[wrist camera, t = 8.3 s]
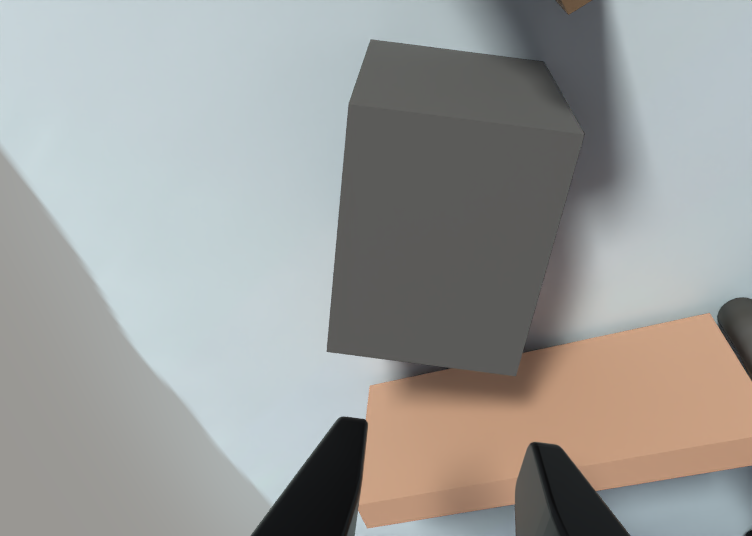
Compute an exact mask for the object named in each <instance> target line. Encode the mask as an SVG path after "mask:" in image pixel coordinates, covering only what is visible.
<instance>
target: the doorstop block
mask: <svg viewBox="0 0 752 536" xmlns="http://www.w3.org/2000/svg"><path fill="white" fill-rule="evenodd" d="M584 135H585V134H584V132H583V131H582V129H581V127H580V125H579V124H578V122H577V120H576V118H575V116H574V115H573V113H572V111H571V109H570V108H569V106H568V104H567V102H566V101H565V99H564V97H563V95H562V93H561V92H560V90H559V88H558V86H557V85H556V83H555V81H554V79H553V77H552V76H551V74H550V72H549V70H548V69H547V67H546V65H545V63H544V62H543V61H535V60H527V59H519V58H511V57H504V56H496V55H488V54H480V53H473V52H465V51H457V50H449V49H441V48H434V47H426V46H418V45H410V44H402V43H395V42H387V41H379V40H370V43H369V46H368V49H367V52H366V55H365V58H364V60H363V63H362V66H361V69H360V72H359V75H358V78H357V81H356V84H355V87H354V90H353V93H352V96H351V99H350V102H349V106H348V117H347V128H346V140H345V151H344V162H343V173H342V184H341V196H340V207H339V218H338V229H337V241H336V252H335V263H334V274H333V286H332V297H331V308H330V319H329V331H328V342H327V352H332V353H340V354H348V355H355V356H363V357H371V358H378V359H386V360H394V361H401V362H409V363H417V364H424V365H432V366H440V367H447V368H455V369H463V370H471V371H478V372H486V373H494V374H501V375H509V376H516V375H517V371H518V368H519V364H520V360H521V357H522V353H523V350H524V346H525V343H526V339H527V336H528V332H529V329H530V325H531V322H532V318H533V315H534V311H535V308H536V304H537V300H538V297H539V293H540V290H541V286H542V283H543V279H544V276H545V272H546V269H547V265H548V262H549V258H550V255H551V251H552V248H553V244H554V240H555V237H556V233H557V230H558V226H559V223H560V219H561V216H562V212H563V209H564V205H565V202H566V198H567V195H568V191H569V187H570V184H571V180H572V177H573V173H574V170H575V166H576V163H577V159H578V156H579V152H580V149H581V145H582V142H583V138H584Z"/></svg>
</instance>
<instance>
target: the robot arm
mask: <svg viewBox="0 0 752 536" xmlns="http://www.w3.org/2000/svg"><path fill="white" fill-rule="evenodd" d="M367 432H368V422H367V421H366V420H365V419H359V418H351V417H340V418H338V419H337V420H336V422H335V423H334V424H333V426H332V427H331V428H330V430H329V431H328V432H327V434H326V435H325V436H324V438H323V439H322V440H321V442H320V443H319V444H318V446H317V447H316V449H315V450H314V451H313V453H312V454H311V455H310V457H309V458H308V459H307V461H306V462H305V463H304V465H303V466H302V467H301V469H300V470H299V471H298V473H297V474H296V475H295V477H294V478H293V479H292V481H291V482H290V483H289V485H288V486H287V487H286V489H285V490H284V491H283V493H282V494H281V496H280V497H279V498H278V500H277V501H276V502H275V504H274V505H273V506H272V508H271V509H270V510H269V512H268V513H267V514H266V516H265V517H264V518H263V520H262V521H261V522H260V524H259V525H258V526H257V528H256V529H255V531H254V532H253V533H252V535H251V536H354V535H355V528H356V521H357V514H358V507H359V501H360V494H361V487H362V480H363V470H364V461H365V451H366V442H367ZM515 525H516V536H630V534H629V533H628V532H627V531H626V529H625V528H624V527H623V525H622V524H621V523H620V522H619V520H618V519H617V518H616V516H615V515H614V514H613V513H612V511H611V510H610V509H609V507H608V506H607V505H606V504H605V502H604V501H603V500H602V498H601V497H600V496H599V495H598V493H597V492H596V491H595V489H594V488H593V487H592V486H591V484H590V483H589V482H588V480H587V479H586V478H585V477H584V475H583V474H582V473H581V471H580V470H579V469H578V468H577V466H576V465H575V464H574V462H573V461H572V460H571V459H570V457H569V456H568V455H567V453H566V452H565V451H564V450H563V449H562V448H561V447H560V446H559V445H556V444H549V443H542V442H532V443H530V444H529V446H528V447H527V450H526V453H525V456H524V459H523V462H522V465H521V468H520V472H519V475H518V478H517V481H516V487H515ZM746 536H752V531H750V532H749V533H747V534H746Z"/></svg>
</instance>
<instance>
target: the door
mask: <svg viewBox="0 0 752 536" xmlns="http://www.w3.org/2000/svg"><path fill="white" fill-rule="evenodd" d="M366 421H367V422H368V432H367V442H366V451H365V461H364V470H363V480H362V487H361V494H360V501H359V507H358V511H359V513H360V515H361V517H362V519H363V521H364V523H365V525H366V526H367V528H373V527H379V526H385V525H391V524H397V523H403V522H409V521H415V520H422V519H428V518H434V517H440V516H446V515H452V514H458V513H464V512H470V511H477V510H483V509H489V508H495V507H501V506H507V505H513V504H515V487H516V481H517V478H518V475H519V472H520V468H521V465H522V462H523V459H524V456H525V453H526V450H527V447H528V446H529V444H530V443H532V442H542V443H549V444H556V445H559V446H560V447H561V448H562V449H563V450H564V451H565V452H566V453H567V455H568V456H569V457H570V459H571V460H572V461H573V462H574V464H575V465H576V466H577V468H578V469H579V470H580V471H581V473H582V474H583V475H584V477H585V478H586V479H587V480H588V482H589V483H590V484H591V486H592V487H593V488H594V489H595V491H599V490H605V489H611V488H617V487H623V486H629V485H635V484H642V483H648V482H654V481H660V480H666V479H672V478H678V477H684V476H690V475H697V474H703V473H709V472H715V471H721V470H727V469H733V468H739V467H745V466H752V381H751V379H750V378H749V376H748V374H747V373H746V371H745V370H744V368H743V366H742V365H741V363H740V361H739V360H738V358H737V357H736V355H735V353H734V352H733V350H732V349H731V347H730V345H729V344H728V342H727V340H726V339H725V337H724V336H723V334H722V332H721V331H720V329H719V327H718V326H717V324H716V323H715V321H714V319H713V318H712V316H711V314H710V313H708V314H703V315H698V316H693V317H689V318H684V319H679V320H675V321H670V322H665V323H661V324H656V325H651V326H647V327H642V328H637V329H633V330H628V331H623V332H619V333H614V334H609V335H605V336H600V337H595V338H591V339H586V340H581V341H577V342H572V343H567V344H563V345H558V346H553V347H548V348H544V349H539V350H534V351H530V352H525V353H522V357H521V360H520V364H519V368H518V371H517V375H516V376H509V375H501V374H494V373H486V372H478V371H471V370H463V369H455V368H450V369H446V370H441V371H436V372H432V373H427V374H422V375H418V376H413V377H408V378H404V379H399V380H394V381H389V382H385V383H380V384H375V385H371V386H370V388H369V397H368V405H367V414H366Z"/></svg>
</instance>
